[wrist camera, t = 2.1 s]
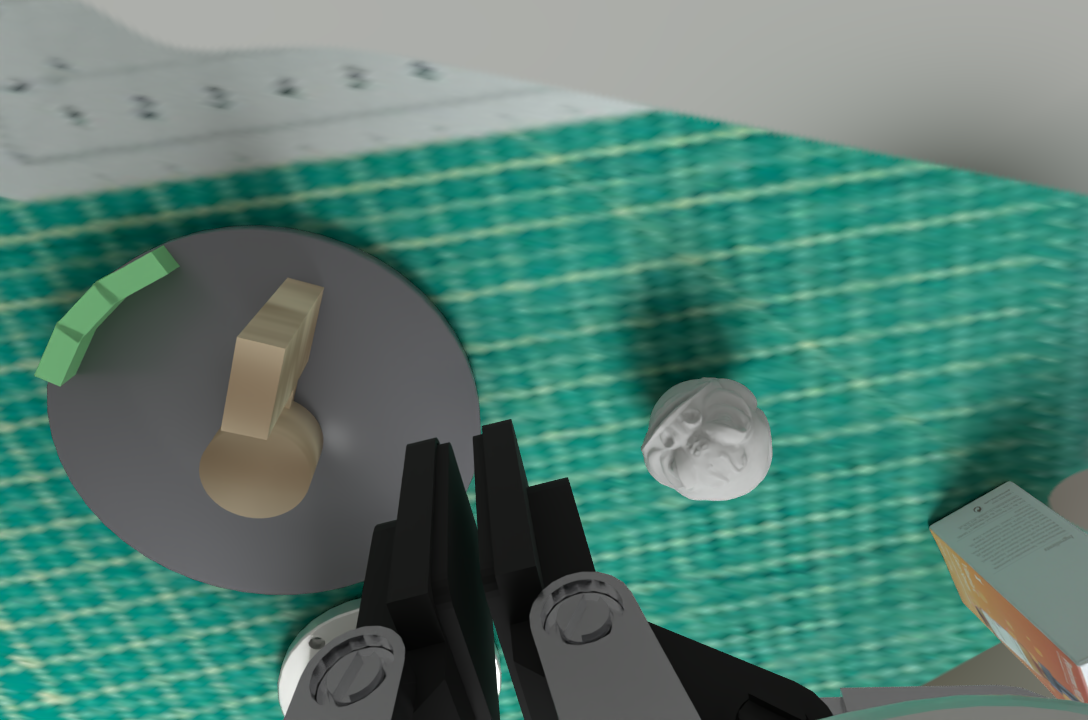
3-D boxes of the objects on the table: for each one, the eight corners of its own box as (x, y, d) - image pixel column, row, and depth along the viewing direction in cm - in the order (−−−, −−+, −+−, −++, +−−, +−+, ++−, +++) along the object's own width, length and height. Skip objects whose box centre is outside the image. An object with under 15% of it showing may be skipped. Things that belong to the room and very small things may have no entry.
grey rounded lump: (677, 321, 32) (732, 379, 26) (765, 400, 35) (835, 471, 28) (593, 407, 33) (626, 484, 27) (683, 478, 36) (733, 563, 29)
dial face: (425, 603, 37) (424, 636, 35) (49, 544, 32) (20, 577, 30) (528, 293, 30) (534, 309, 28) (78, 166, 26) (44, 173, 24)
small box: (924, 523, 39) (1077, 665, 30) (1009, 476, 39) (1193, 605, 29) (960, 604, 43) (1109, 756, 33) (1039, 561, 42) (1214, 703, 32)
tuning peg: (313, 487, 31) (277, 591, 25) (215, 468, 30) (152, 572, 24) (358, 296, 28) (330, 359, 22) (251, 267, 27) (188, 325, 20)
